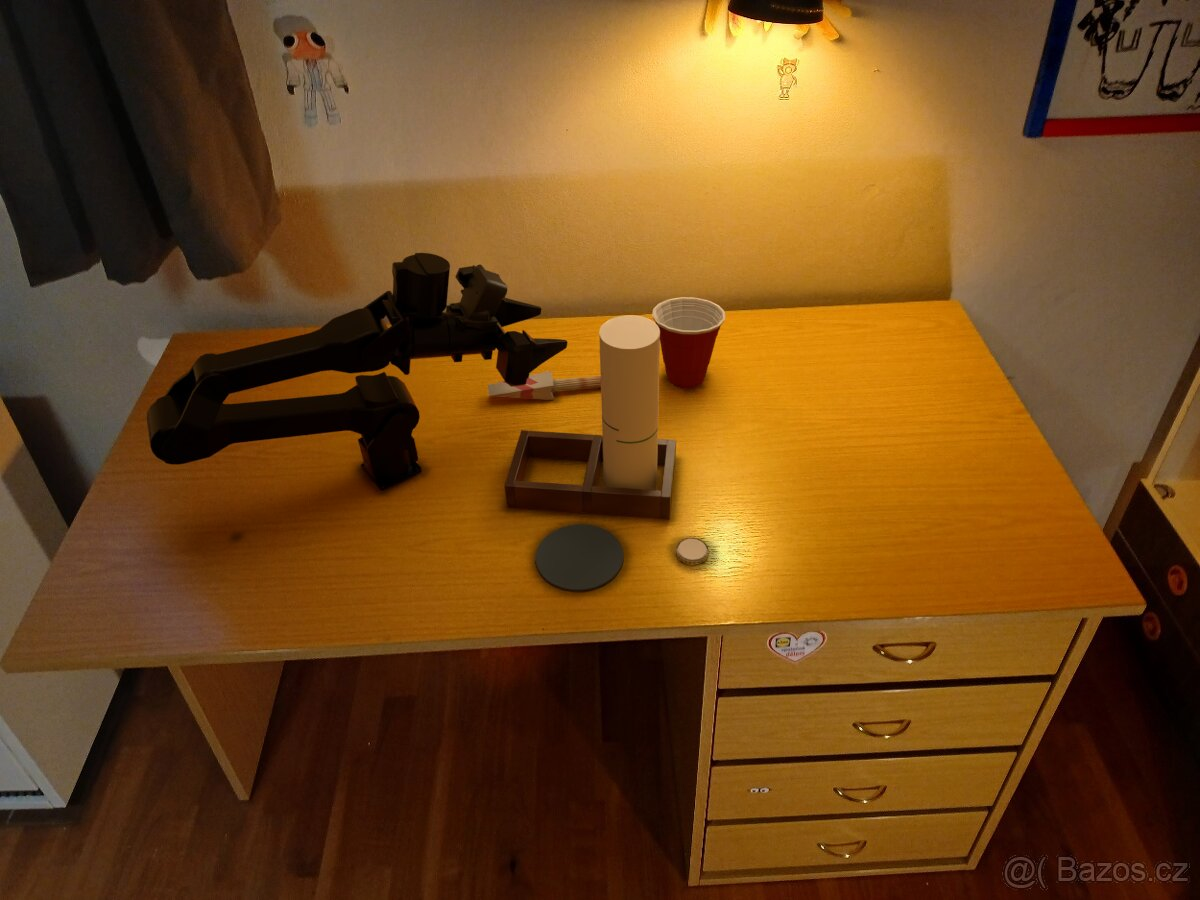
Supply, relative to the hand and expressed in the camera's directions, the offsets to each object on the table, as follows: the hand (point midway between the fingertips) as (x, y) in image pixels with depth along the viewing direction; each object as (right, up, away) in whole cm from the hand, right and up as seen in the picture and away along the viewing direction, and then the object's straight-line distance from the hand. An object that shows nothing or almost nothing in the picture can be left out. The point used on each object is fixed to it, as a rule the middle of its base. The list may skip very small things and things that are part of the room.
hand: (553, 326), depth 124 cm
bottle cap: (+18, -30, -10) cm, 36 cm away
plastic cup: (+20, -6, +18) cm, 27 cm away
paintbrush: (-1, -8, +16) cm, 18 cm away
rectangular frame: (+5, -21, 0) cm, 22 cm away
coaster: (+4, -30, -10) cm, 32 cm away
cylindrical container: (+11, -22, -1) cm, 24 cm away
